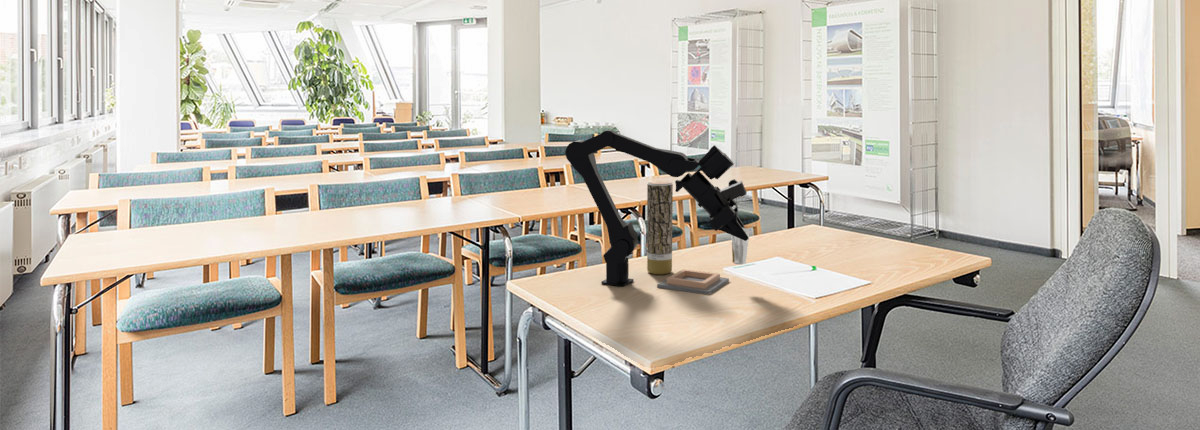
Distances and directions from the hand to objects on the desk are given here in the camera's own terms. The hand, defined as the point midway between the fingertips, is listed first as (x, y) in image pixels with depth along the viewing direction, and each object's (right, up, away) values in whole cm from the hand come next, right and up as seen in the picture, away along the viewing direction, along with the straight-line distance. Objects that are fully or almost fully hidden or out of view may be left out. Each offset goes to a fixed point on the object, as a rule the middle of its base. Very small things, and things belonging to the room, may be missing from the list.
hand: (747, 237), depth 176 cm
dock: (-13, -12, +7) cm, 19 cm away
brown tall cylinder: (-20, -10, +19) cm, 30 cm away
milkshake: (-1, -7, +1) cm, 7 cm away
